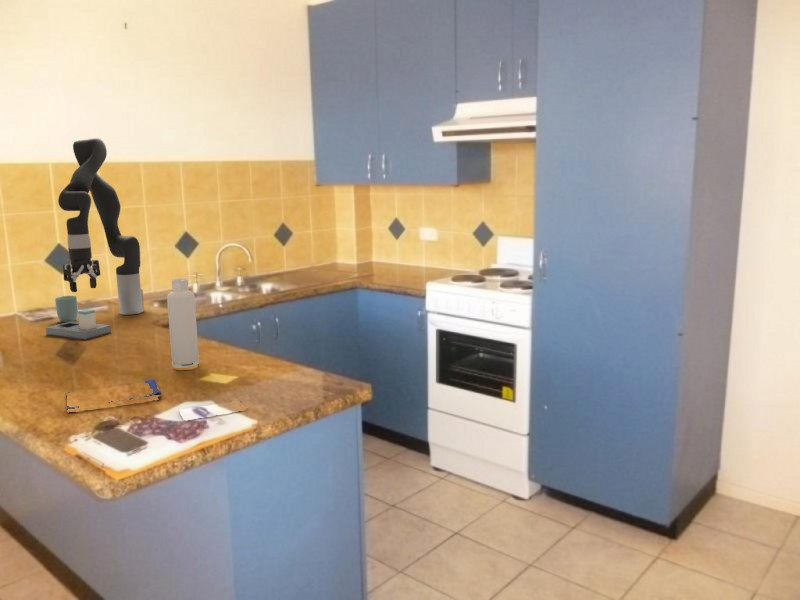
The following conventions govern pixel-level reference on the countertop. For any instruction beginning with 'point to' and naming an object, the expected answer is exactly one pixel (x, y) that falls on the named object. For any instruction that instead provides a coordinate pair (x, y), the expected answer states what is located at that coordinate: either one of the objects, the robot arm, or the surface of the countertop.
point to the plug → (87, 319)
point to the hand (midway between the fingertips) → (83, 289)
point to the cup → (67, 308)
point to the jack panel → (77, 331)
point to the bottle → (182, 325)
